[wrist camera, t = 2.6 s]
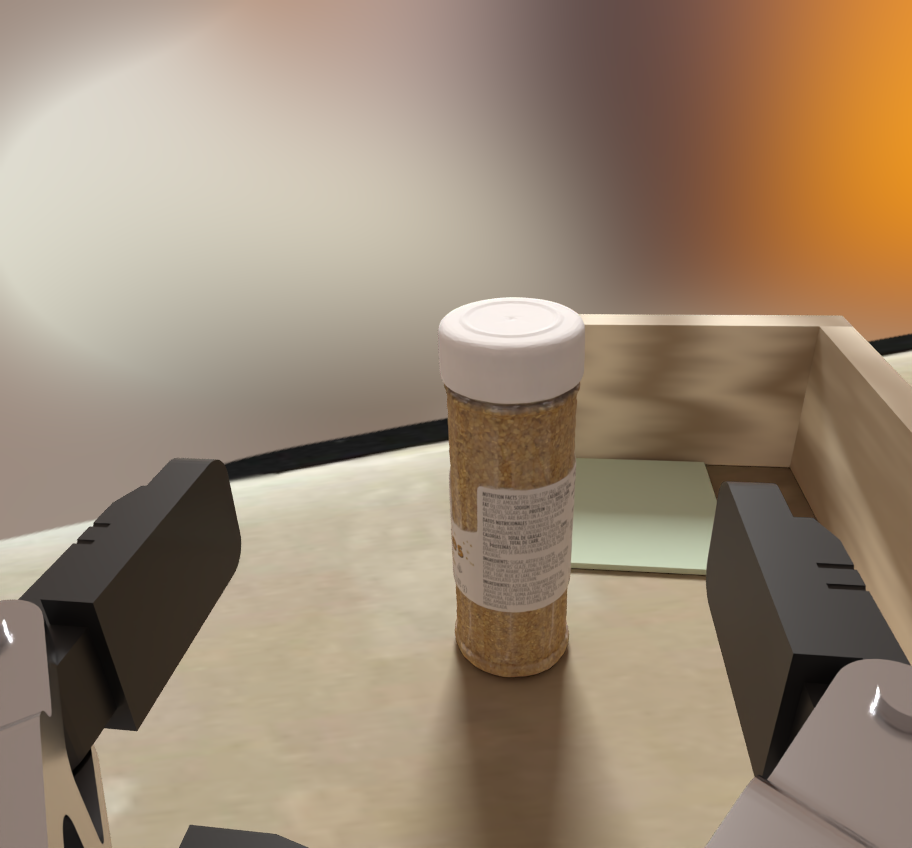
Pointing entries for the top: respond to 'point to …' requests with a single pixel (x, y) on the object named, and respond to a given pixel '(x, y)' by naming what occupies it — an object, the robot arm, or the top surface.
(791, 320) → the light wood l-shaped panel
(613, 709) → the top surface
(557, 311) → the sprinkles bottle
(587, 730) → the top surface
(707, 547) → the pad
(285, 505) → the top surface
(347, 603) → the top surface
